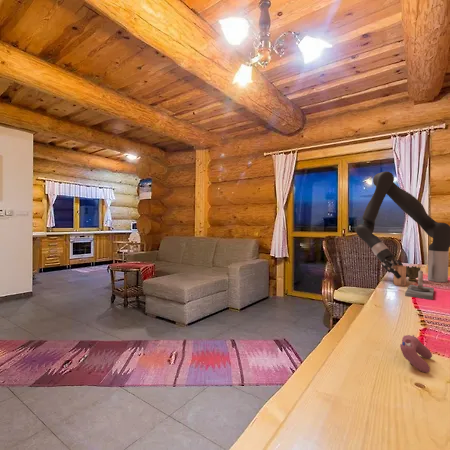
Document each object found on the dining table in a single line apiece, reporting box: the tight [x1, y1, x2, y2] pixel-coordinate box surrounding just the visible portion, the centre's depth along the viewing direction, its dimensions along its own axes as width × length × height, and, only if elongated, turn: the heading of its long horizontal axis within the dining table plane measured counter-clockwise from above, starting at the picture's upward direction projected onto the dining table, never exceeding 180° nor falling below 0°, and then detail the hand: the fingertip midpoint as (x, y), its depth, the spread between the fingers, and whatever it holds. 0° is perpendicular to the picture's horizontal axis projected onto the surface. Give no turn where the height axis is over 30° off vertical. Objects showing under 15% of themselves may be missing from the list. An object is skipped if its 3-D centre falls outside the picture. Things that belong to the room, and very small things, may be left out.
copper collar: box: [392, 264, 407, 287], centre depth 151 cm, size 6×6×10 cm
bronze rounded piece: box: [405, 265, 422, 282], centre depth 161 cm, size 8×7×8 cm
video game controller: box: [399, 334, 433, 374], centre depth 68 cm, size 10×5×7 cm, turn 141°
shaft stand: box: [404, 269, 435, 301], centre depth 133 cm, size 20×10×11 cm, turn 142°
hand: (403, 277), depth 149 cm, fingers closed on copper collar, 5 cm apart
